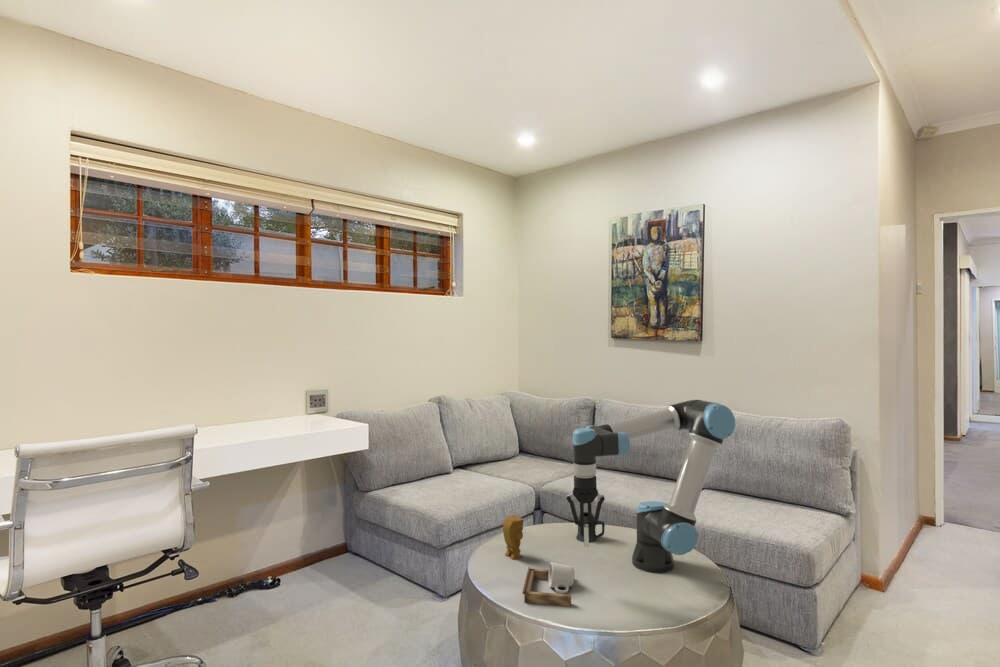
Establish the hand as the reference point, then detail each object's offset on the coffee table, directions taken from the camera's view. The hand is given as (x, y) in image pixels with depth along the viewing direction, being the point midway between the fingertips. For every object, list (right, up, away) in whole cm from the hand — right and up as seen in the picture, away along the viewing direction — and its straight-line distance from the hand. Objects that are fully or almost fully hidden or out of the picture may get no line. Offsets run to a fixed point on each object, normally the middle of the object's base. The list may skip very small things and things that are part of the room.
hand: (586, 545), depth 183 cm
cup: (-4, -14, +4) cm, 14 cm away
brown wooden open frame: (-12, -16, +2) cm, 20 cm away
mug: (+9, -16, +46) cm, 50 cm away
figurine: (-24, -16, +30) cm, 42 cm away
